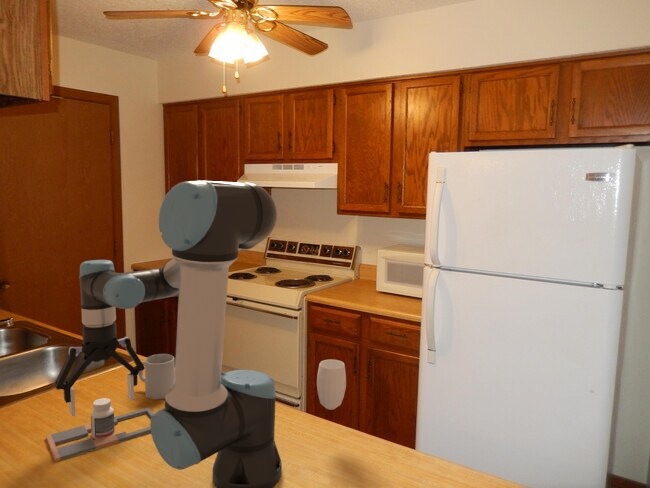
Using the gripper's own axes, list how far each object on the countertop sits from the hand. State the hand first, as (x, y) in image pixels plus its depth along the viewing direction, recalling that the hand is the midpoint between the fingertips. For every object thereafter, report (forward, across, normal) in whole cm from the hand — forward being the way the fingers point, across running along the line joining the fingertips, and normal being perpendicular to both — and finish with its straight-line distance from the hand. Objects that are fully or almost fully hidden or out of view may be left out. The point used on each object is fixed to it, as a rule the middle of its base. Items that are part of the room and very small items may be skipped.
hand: (102, 405), depth 116 cm
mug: (+8, -19, -17) cm, 26 cm away
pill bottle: (+8, 0, -1) cm, 8 cm away
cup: (+9, -44, +36) cm, 58 cm away
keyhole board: (+8, -1, -1) cm, 8 cm away
